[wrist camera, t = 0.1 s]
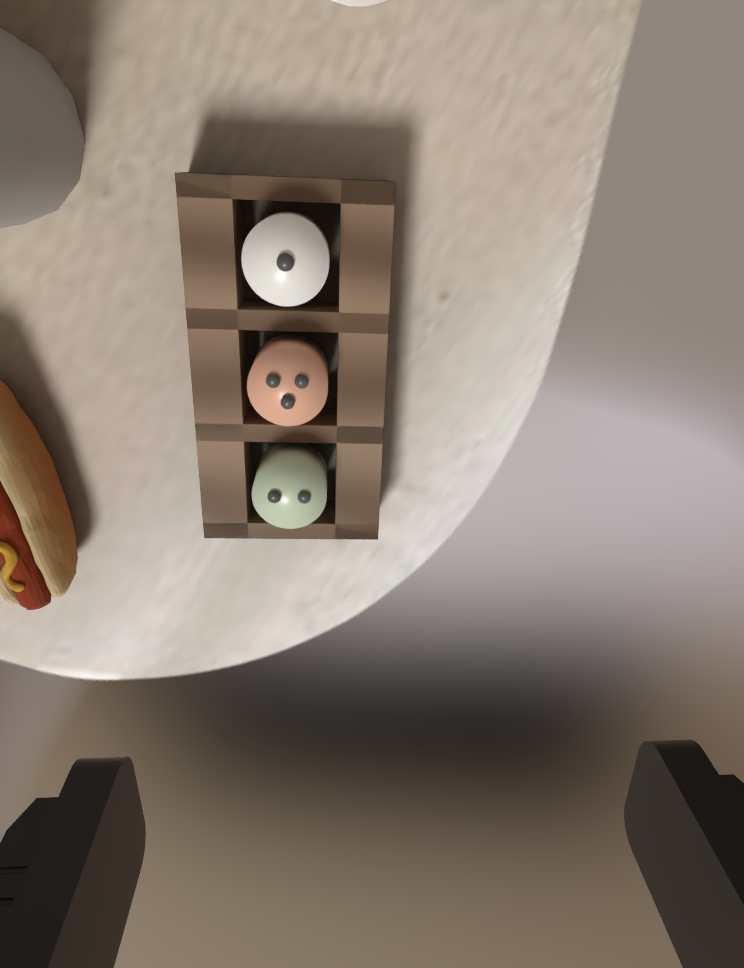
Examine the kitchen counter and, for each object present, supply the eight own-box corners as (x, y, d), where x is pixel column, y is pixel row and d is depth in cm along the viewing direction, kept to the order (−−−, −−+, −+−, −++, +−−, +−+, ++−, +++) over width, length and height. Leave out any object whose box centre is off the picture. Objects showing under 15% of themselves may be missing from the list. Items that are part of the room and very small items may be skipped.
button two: (256, 440, 37) (249, 462, 34) (327, 441, 37) (327, 463, 35) (258, 503, 39) (252, 529, 36) (327, 504, 39) (326, 530, 36)
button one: (247, 209, 32) (238, 213, 29) (330, 212, 32) (329, 216, 29) (250, 294, 34) (242, 305, 31) (329, 296, 34) (328, 308, 31)
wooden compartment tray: (188, 172, 32) (174, 172, 30) (390, 181, 33) (395, 182, 30) (212, 513, 41) (204, 538, 38) (375, 515, 41) (377, 539, 39)
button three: (252, 333, 35) (244, 348, 32) (328, 335, 35) (328, 350, 32) (254, 406, 36) (248, 426, 33) (328, 407, 37) (327, 427, 34)
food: (106, 563, 42) (78, 611, 37) (21, 577, 42) (-16, 626, 38) (22, 350, 36) (-22, 376, 31) (-76, 366, 36) (-135, 394, 32)
